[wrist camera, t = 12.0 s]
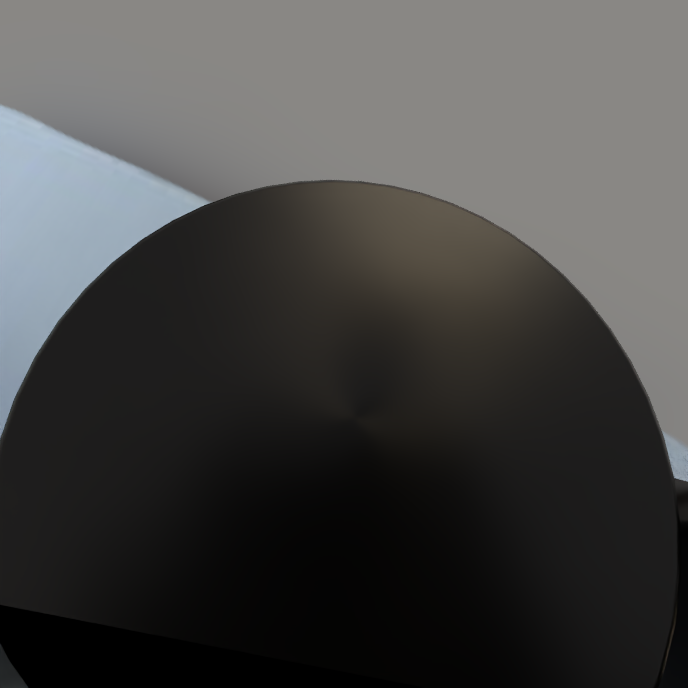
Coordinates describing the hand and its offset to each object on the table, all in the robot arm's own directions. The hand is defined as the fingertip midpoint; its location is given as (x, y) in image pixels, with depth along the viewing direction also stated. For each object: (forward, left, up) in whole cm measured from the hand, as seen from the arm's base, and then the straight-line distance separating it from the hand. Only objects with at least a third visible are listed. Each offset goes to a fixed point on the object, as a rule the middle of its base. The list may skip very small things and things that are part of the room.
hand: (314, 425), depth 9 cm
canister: (-1, 0, -6) cm, 6 cm away
